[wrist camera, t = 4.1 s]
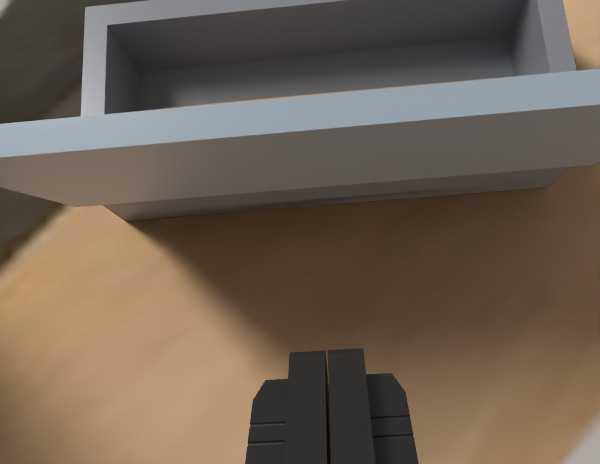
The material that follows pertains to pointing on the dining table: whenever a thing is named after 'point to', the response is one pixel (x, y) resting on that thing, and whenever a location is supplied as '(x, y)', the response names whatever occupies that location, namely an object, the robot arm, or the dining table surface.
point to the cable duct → (312, 70)
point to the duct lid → (308, 141)
